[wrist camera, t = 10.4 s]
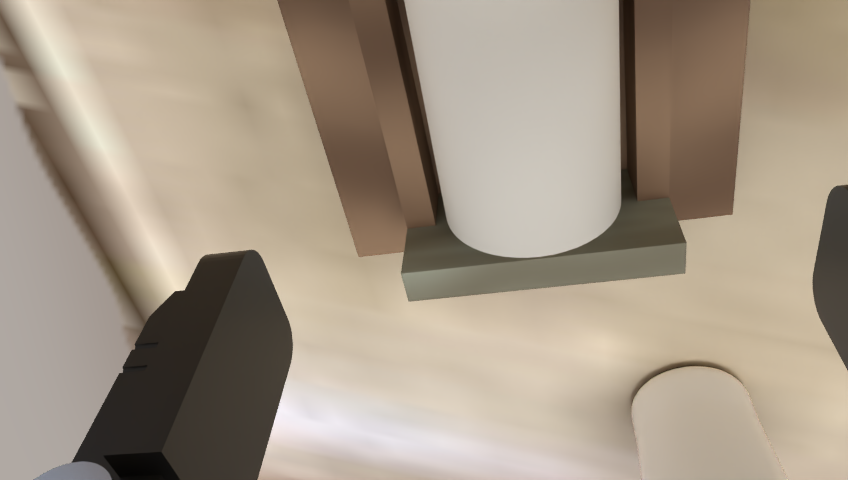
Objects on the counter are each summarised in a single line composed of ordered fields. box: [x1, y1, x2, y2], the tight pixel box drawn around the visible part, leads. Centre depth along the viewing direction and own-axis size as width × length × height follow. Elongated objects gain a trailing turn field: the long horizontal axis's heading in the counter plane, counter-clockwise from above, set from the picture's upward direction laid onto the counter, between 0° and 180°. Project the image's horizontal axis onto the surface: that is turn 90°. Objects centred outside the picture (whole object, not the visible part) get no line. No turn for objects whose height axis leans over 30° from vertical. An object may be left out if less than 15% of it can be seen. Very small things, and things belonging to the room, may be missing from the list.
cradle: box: [277, 0, 750, 301], centre depth 20 cm, size 19×14×6 cm
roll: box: [404, 0, 621, 258], centre depth 19 cm, size 13×6×6 cm, turn 10°
